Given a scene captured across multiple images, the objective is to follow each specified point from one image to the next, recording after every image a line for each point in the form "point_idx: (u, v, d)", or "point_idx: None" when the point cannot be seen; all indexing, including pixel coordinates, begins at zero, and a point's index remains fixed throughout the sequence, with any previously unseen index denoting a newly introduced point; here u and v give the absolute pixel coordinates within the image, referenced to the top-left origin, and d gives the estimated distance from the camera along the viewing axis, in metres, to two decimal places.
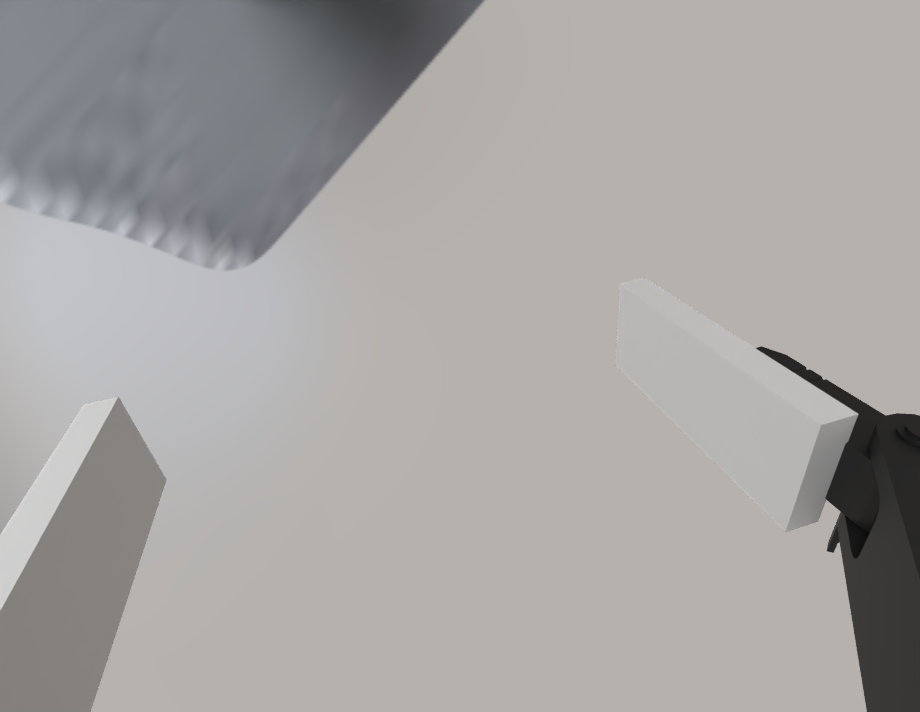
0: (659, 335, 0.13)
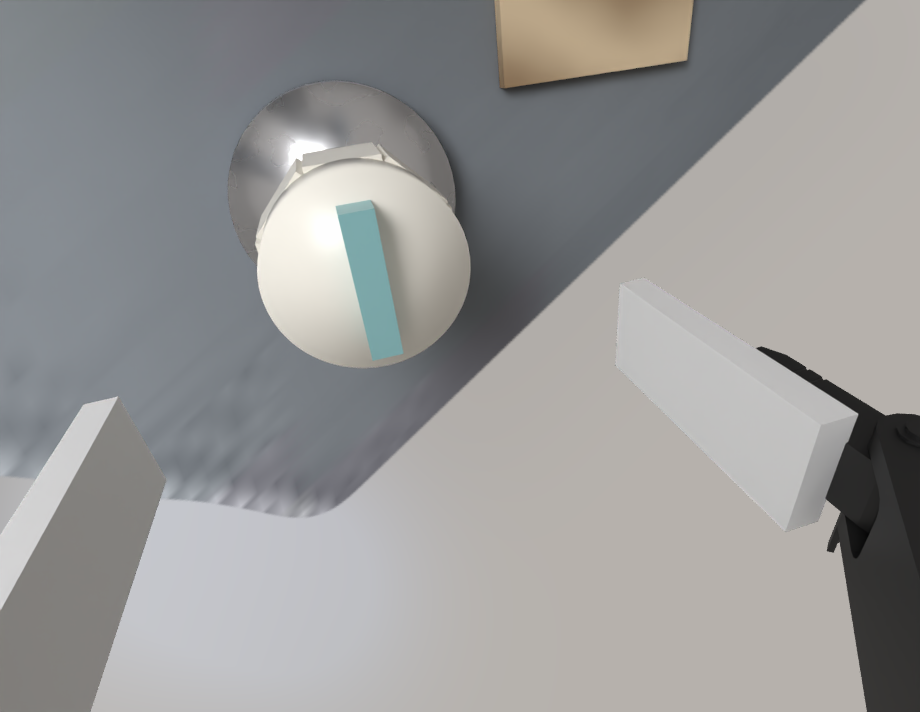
0: (660, 335, 0.13)
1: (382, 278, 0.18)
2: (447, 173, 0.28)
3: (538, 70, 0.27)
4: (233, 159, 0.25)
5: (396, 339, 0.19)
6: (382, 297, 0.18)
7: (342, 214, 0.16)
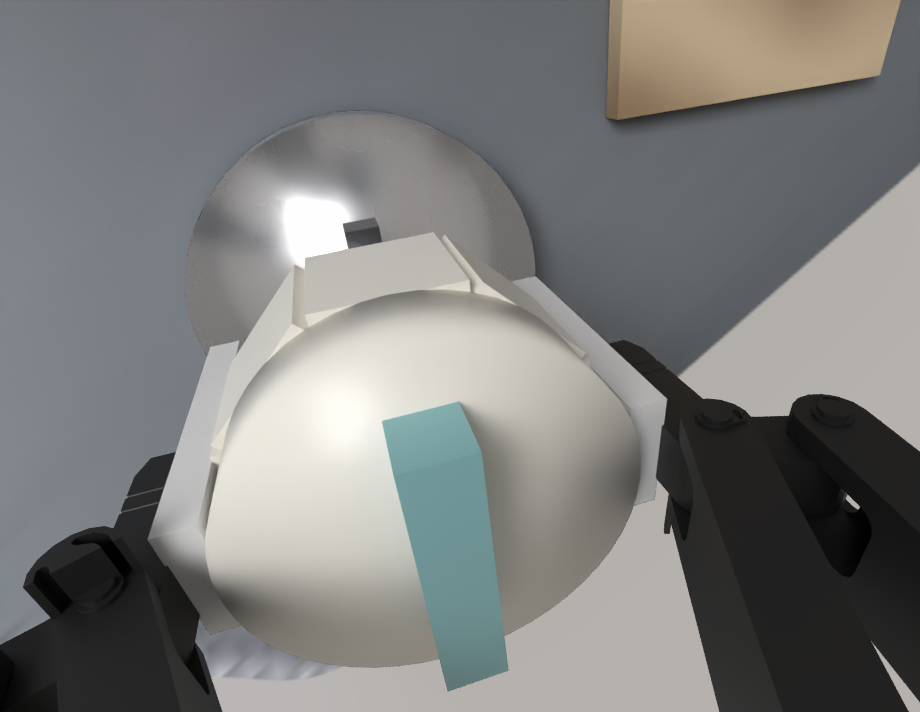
0: None
1: (484, 569, 0.08)
2: (526, 248, 0.18)
3: (669, 92, 0.18)
4: (193, 240, 0.15)
5: (497, 653, 0.09)
6: (478, 599, 0.08)
7: (405, 471, 0.07)
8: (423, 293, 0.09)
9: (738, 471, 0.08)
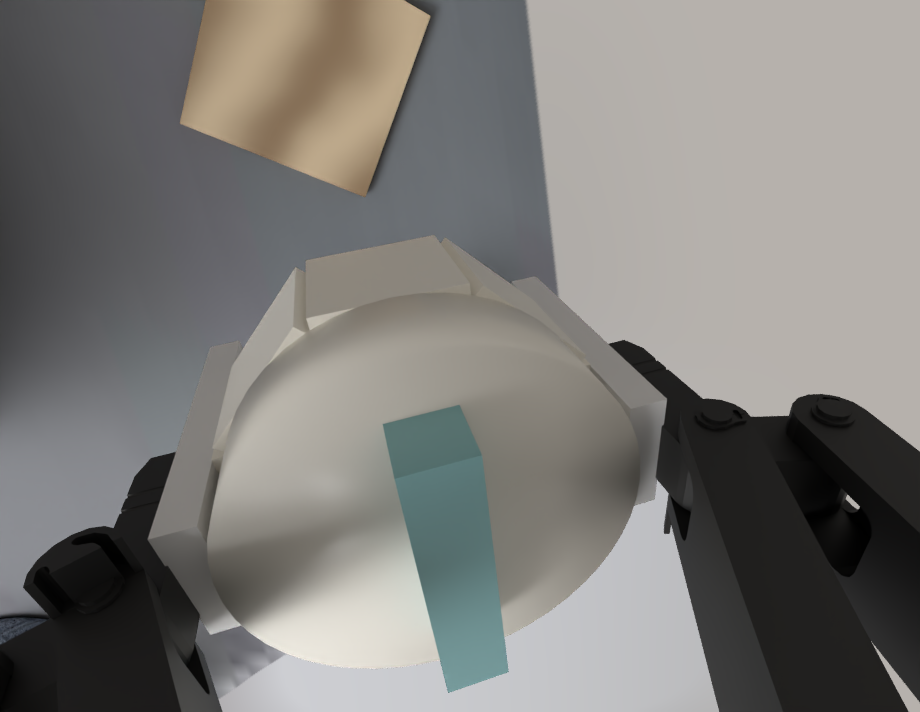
0: None
1: (484, 571, 0.08)
2: None
3: (366, 164, 0.32)
4: None
5: (498, 655, 0.09)
6: (478, 601, 0.08)
7: (406, 474, 0.07)
8: (424, 296, 0.09)
9: (738, 471, 0.08)
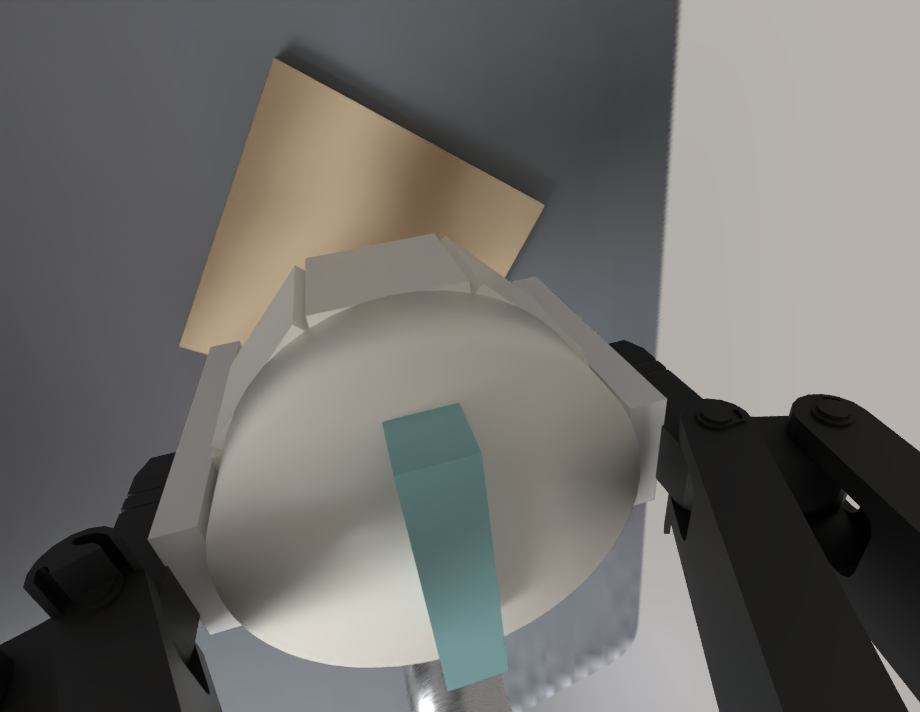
0: None
1: (484, 569, 0.08)
2: None
3: None
4: None
5: (497, 654, 0.09)
6: (478, 599, 0.08)
7: (405, 472, 0.07)
8: (423, 294, 0.09)
9: (738, 471, 0.08)
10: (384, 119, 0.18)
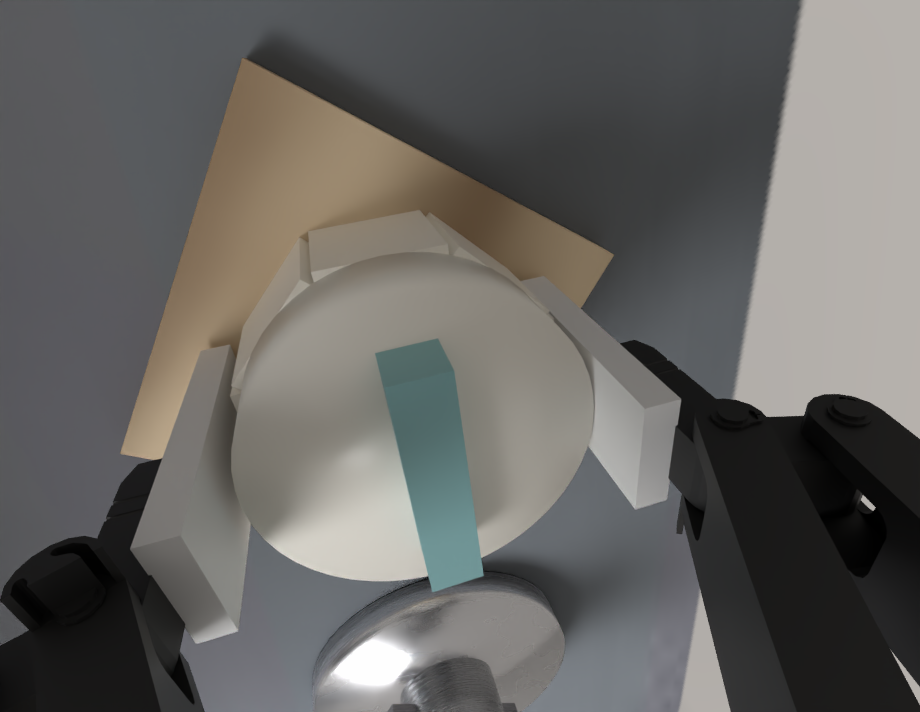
0: None
1: (460, 476, 0.10)
2: (490, 605, 0.22)
3: None
4: None
5: (474, 558, 0.11)
6: (455, 504, 0.10)
7: (393, 385, 0.08)
8: (409, 254, 0.11)
9: (753, 471, 0.08)
10: (404, 145, 0.13)
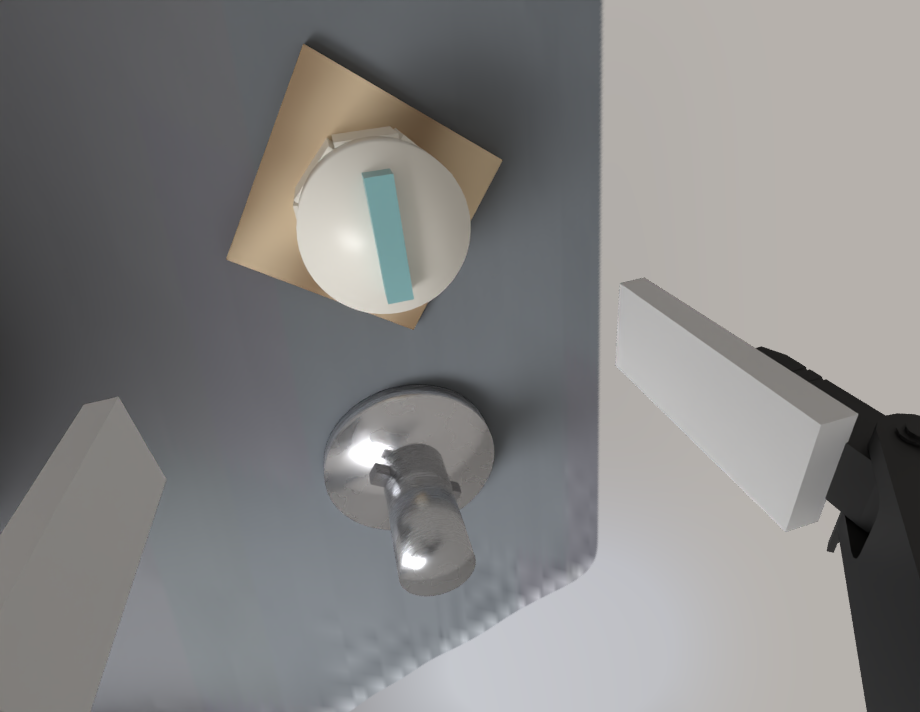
0: (659, 335, 0.13)
1: (398, 232, 0.22)
2: (439, 401, 0.34)
3: None
4: (341, 510, 0.36)
5: (408, 286, 0.23)
6: (397, 249, 0.22)
7: (367, 177, 0.20)
8: (379, 136, 0.23)
9: None
10: (381, 90, 0.25)
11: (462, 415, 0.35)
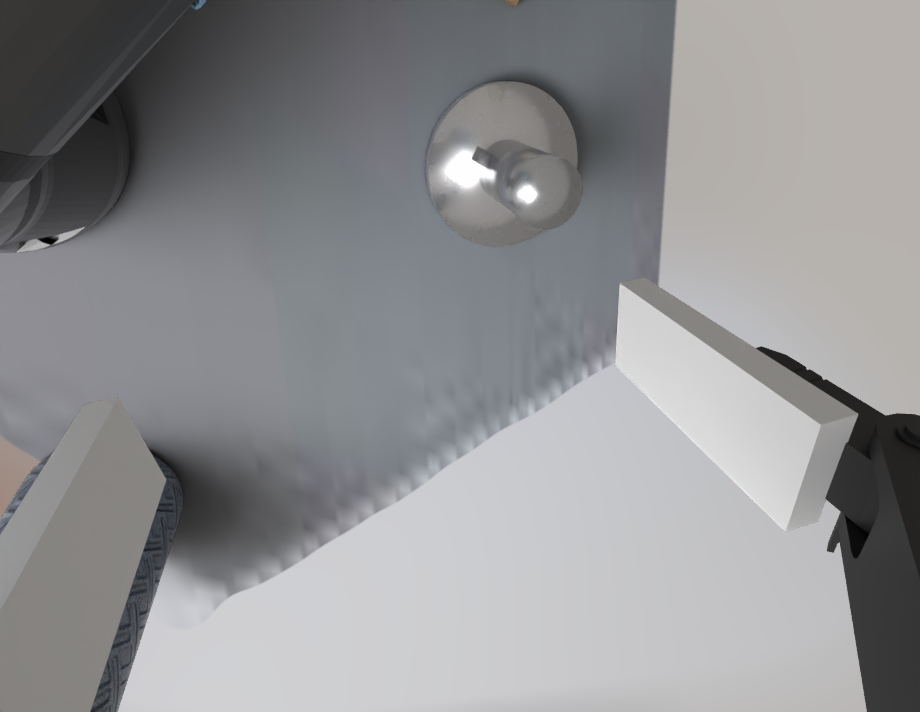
0: (659, 335, 0.13)
1: None
2: (534, 90, 0.37)
3: None
4: (440, 211, 0.39)
5: None
6: None
7: None
8: None
9: None
10: None
11: (553, 111, 0.38)
